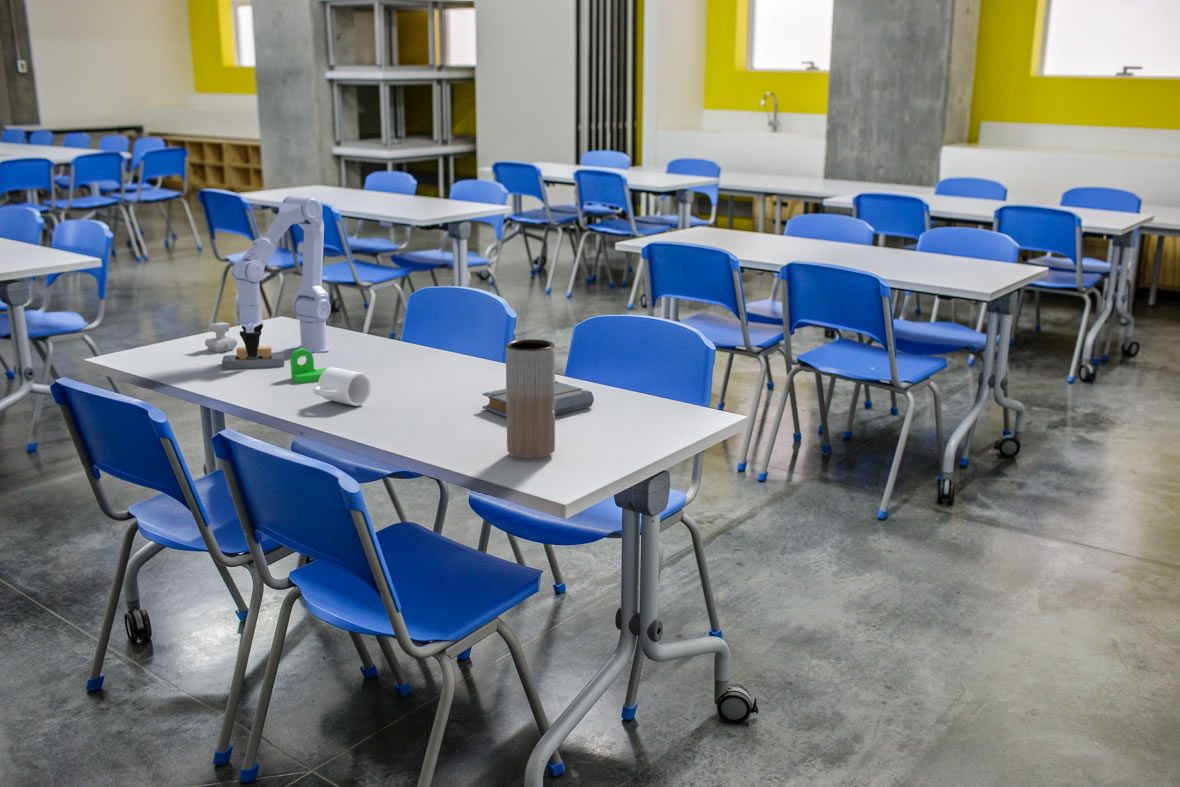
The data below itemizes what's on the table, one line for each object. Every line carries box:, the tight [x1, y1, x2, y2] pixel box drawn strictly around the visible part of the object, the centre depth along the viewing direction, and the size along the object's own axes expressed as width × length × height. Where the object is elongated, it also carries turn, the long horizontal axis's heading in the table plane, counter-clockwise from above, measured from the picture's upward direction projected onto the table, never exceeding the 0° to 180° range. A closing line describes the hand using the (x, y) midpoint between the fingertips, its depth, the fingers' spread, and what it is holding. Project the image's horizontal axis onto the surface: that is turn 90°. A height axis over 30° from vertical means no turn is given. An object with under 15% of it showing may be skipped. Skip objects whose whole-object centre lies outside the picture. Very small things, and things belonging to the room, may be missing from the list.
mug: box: [312, 366, 372, 407], centre depth 265 cm, size 12×10×8 cm
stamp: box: [204, 321, 238, 353], centre depth 318 cm, size 9×7×8 cm
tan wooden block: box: [236, 345, 273, 359], centre depth 302 cm, size 3×9×5 cm, turn 104°
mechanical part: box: [289, 348, 338, 385], centre depth 289 cm, size 12×6×8 cm, turn 117°
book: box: [482, 380, 595, 418], centre depth 264 cm, size 21×16×5 cm
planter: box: [505, 339, 556, 459], centre depth 228 cm, size 10×10×23 cm
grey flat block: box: [221, 352, 286, 371], centre depth 303 cm, size 7×16×2 cm, turn 103°
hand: (253, 353), depth 302 cm, fingers open, 7 cm apart
